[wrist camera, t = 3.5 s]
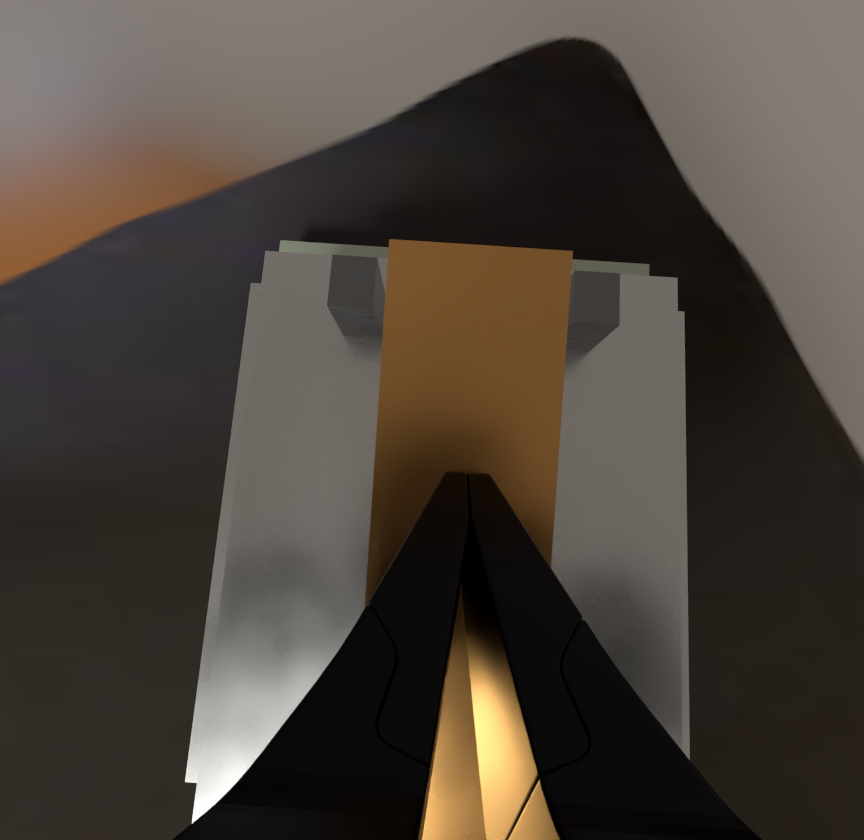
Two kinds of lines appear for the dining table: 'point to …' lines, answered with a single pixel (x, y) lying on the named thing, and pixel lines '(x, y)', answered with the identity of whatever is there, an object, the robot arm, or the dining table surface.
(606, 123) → the dining table surface
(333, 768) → the robot arm
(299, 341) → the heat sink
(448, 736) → the strap
